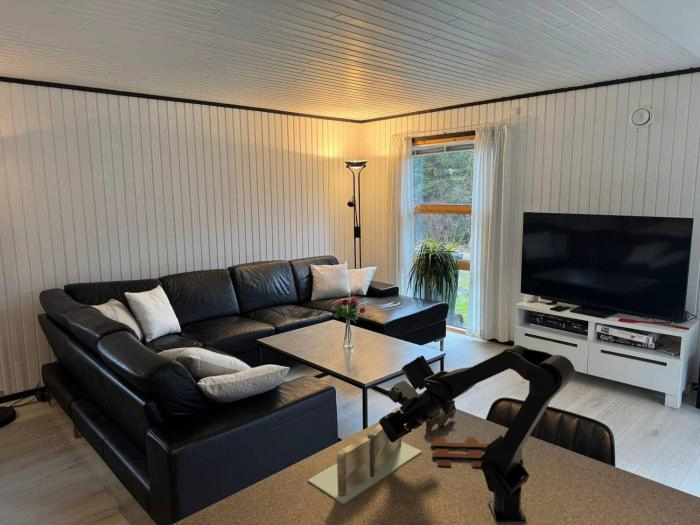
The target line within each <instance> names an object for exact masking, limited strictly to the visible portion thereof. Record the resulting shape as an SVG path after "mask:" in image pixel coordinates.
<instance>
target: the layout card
mask: <svg viewBox="0 0 700 525" xmlns="http://www.w3.org/2000/svg"><path fill="white" fill-rule="evenodd" d="M422 453H423V451H422V450H420V449H418V448H416V447H414V446H413V445H409V444H408V443H405V442H403V441H402V444H401V445H399V446H398V447H397V448H396V449H395V451H394V452H393V453H392V454H391V455H390V456H389V457H388V459H387V460H386V461H385V462H384V463H383V464H382V465H381V467H380V468H379V469H378V470H377V471H376V472H375V473H374V476H373V477H370V478H369V479H368V480H366V481H365V482H363V483H362V484H360V485H359V486H357V487H356V488H354V489H352V490H351V491H349V492H348V493H346V495H345V496H342V497H341V496H339V495H338V477H337V463H335V464H333V465H332V466H330V467H328V468H326V469H325V470H323V471H321V472H319V473H318V474H315V475H313V477H310V478H309V479H308V480H307V482H308V483H310V484H311V485H313V486H315V487H316V488H318V489H319V490H320V491H322V492H324V493H325V494H327V495H329V496H330V497H332V498H333V499H334V500H336V501H338V502H339V503H341V504H342V505H344V504H346V503H347V502H349V501H350V500H352V499H354V498H355V497H357V496H358V495H360V494H361V493H363V492H364V491H366V490H367V489H369V488H370V487H372V486H373V485H374V484H376V483H378V482H379V481H381V480H382V479H384V478H386V477H387V476H388V475H390V474H391V473H393V472H395V470H398V469H399V468H400V467H402V466H403V465H405V464H406V463H409V462H410V461H411V460H413V459H414V458H415V457H417V456H419V455H420V454H422Z"/></svg>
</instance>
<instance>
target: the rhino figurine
mask: <svg viewBox="0 0 700 525" xmlns="http://www.w3.org/2000/svg"><path fill="white" fill-rule="evenodd" d="M456 411H457V408H456V409H455V410H454V411H452V412H450V413H449V414H445V412H444V411H443V409H441V410H440V414H439V415H438V416H437V417H435V418H433V419H432V420H429V419H428V420H427V421H426V422H425V430H426V431H427V432H426V433H427V435H429V434H432V433H433V431H432V429H433V428H434V427H435V426H436V425H438V424H442V425H440V426H441V428H442V429H444V427H446V428H447V426H446V425H445V424H446V423H447V421H448V420H449V419H454V417H455V414H456V413H457V412H456ZM432 435H433V434H432Z"/></svg>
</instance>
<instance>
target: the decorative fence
mask: <svg viewBox="0 0 700 525" xmlns="http://www.w3.org/2000/svg"><path fill="white" fill-rule="evenodd" d="M488 444H489V443H479V441H478V439H477V438H476V437H474V436H467V437H466V438H465V442H449V441H447V438H445V437H444V436H442V435H436V436H435V437H434V438H433V441H431V442H430V446H431V447H430V448H431V449H434V450H435V452H432V453H431V454H432V455H431V457H432V459H433V460H436V466H437V468H449V469H450V468H452V462H451V461H453V460H455V461H470V464H471V469H481V470H482V468H481V462H482V460H483V459H480V457H481V456H482V455H484V453H483V452H482V451H485V450H486V447H487V445H488ZM451 449H452V450H467V453H461V452H460V453H459V452H449V450H451ZM523 462H524V459H523V456H522V457H521V460H520V463H523Z"/></svg>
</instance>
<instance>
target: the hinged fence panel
mask: <svg viewBox="0 0 700 525" xmlns="http://www.w3.org/2000/svg"><path fill="white" fill-rule="evenodd" d="M398 410H399V411H400V412H401V413H402V411H401V410H400V407H395V408H394V409H393V410H392V411H391V412H393V413H395V412H396V411H398ZM368 434H373V448H374V473H375V472H376V471H377V470H378V469H379V468H380V467H381V465H382V464H383V463H384V462H385V461H386V460H387V459H388V457H389V456H390V455H391V454H392V453H393V452H394V451H395V449H396V448H397V447H398V446H399V445H401V444H402V442H403V441H402V440H403V439H402V438H403V437H402V438H400V439H399V440H397V441H395V442H394V443H393V442H390V440H389V438H388V437H387V435H386V433H385V432H384V430H383V428H382V427H381V425H380V423H379V424H378V425H377V426H376V427H374V429H372V430H371V432H370V433H368Z"/></svg>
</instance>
